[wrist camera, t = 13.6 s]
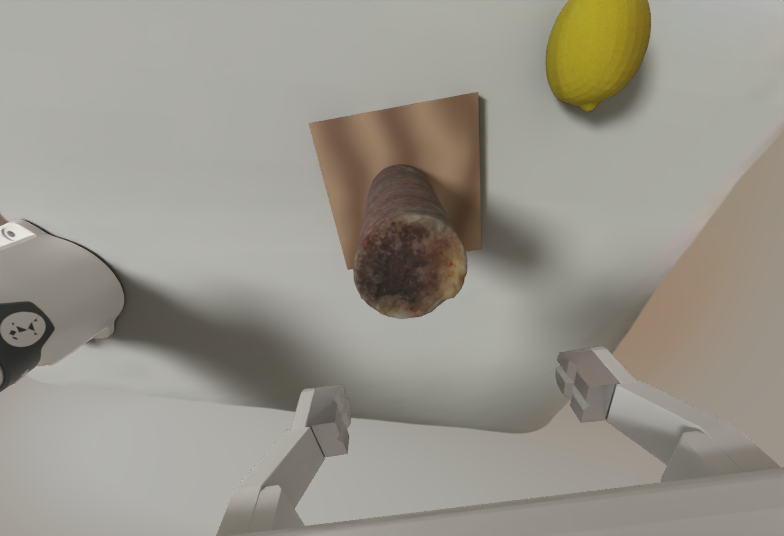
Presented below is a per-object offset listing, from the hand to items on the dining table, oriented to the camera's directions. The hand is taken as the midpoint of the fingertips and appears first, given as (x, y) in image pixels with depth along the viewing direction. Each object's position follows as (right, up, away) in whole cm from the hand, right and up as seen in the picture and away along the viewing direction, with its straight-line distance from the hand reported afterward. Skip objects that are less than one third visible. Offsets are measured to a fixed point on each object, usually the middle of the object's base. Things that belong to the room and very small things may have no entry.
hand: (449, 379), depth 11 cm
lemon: (+16, +26, +20) cm, 37 cm away
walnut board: (-1, +14, +26) cm, 29 cm away
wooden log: (-1, +13, +25) cm, 28 cm away
